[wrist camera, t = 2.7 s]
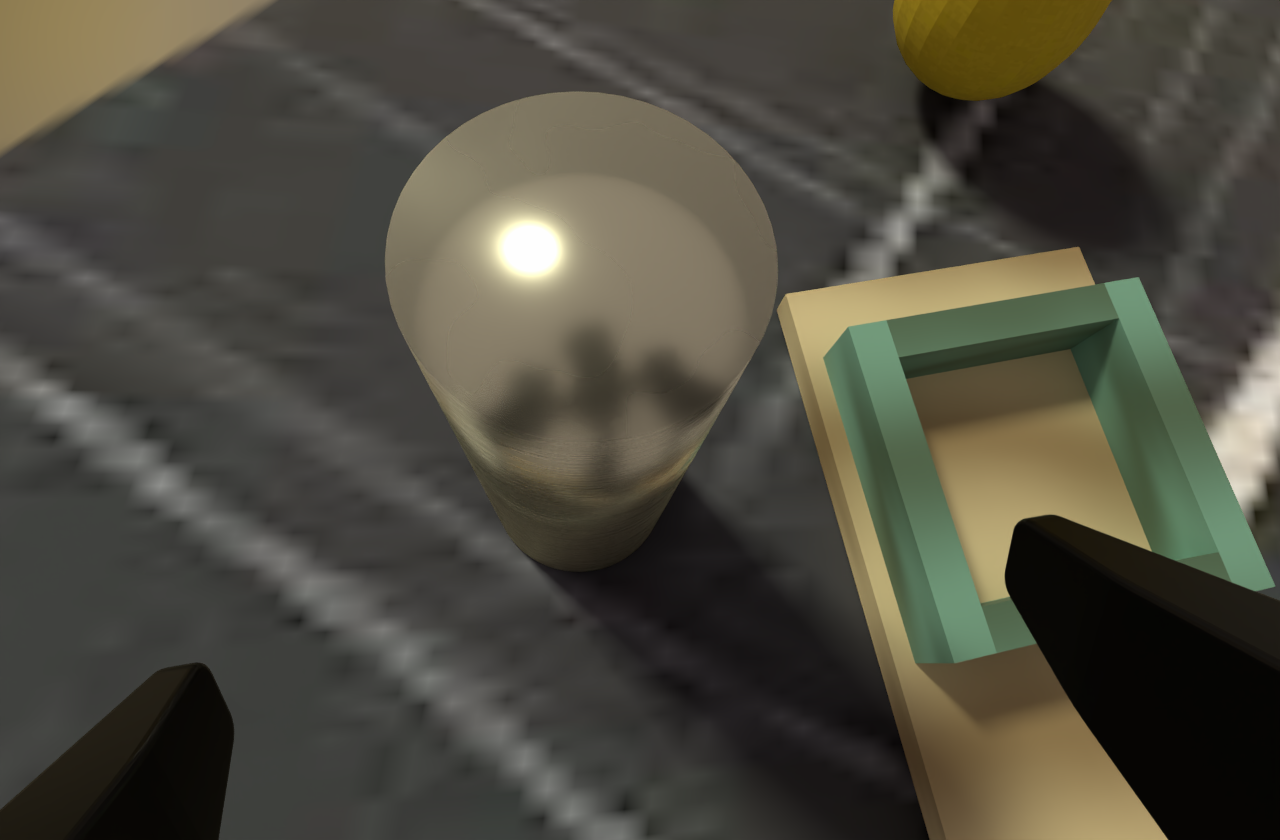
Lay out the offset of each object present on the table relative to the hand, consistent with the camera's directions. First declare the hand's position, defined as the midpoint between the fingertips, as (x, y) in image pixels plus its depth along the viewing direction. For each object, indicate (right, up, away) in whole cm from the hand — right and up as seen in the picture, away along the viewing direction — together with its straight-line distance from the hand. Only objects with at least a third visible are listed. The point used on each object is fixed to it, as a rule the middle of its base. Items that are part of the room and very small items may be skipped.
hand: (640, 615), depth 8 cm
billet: (-2, 0, +12) cm, 12 cm away
